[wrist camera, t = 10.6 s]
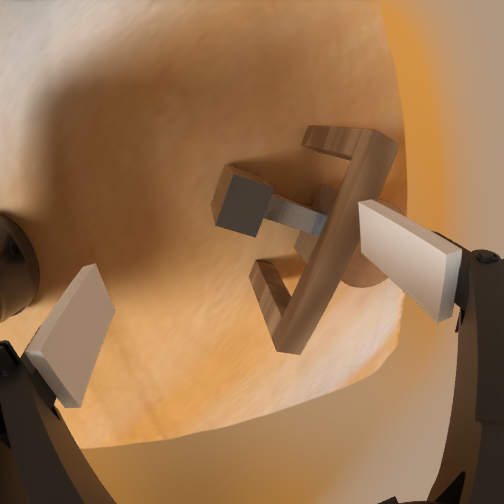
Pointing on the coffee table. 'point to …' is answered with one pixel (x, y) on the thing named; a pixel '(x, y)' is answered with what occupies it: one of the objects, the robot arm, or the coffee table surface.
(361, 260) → the lidded jar
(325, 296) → the bridge
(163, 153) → the coffee table surface
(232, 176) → the cube and plate dumbbell
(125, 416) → the coffee table surface
